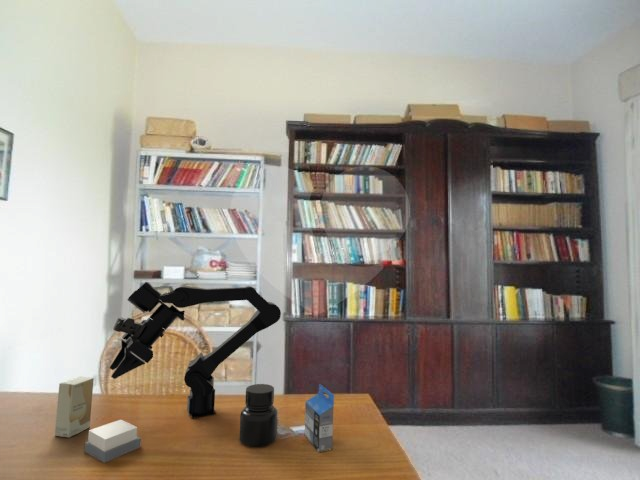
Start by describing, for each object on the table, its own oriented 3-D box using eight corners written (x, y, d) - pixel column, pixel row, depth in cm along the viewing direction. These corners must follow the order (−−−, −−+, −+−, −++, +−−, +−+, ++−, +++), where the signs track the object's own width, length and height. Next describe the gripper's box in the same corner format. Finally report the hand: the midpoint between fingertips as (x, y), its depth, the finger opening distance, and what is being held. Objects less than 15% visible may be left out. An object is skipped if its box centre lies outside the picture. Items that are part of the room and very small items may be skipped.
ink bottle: (284, 435, 90) (285, 385, 91) (267, 452, 81) (269, 397, 82) (249, 428, 93) (251, 380, 94) (230, 444, 85) (232, 391, 85)
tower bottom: (120, 439, 86) (121, 428, 86) (140, 449, 82) (141, 438, 82) (84, 454, 79) (85, 442, 80) (104, 465, 75) (104, 453, 75)
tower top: (120, 430, 86) (120, 419, 86) (136, 438, 82) (137, 427, 82) (88, 442, 80) (88, 430, 80) (104, 451, 76) (105, 439, 76)
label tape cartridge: (303, 435, 90) (305, 384, 91) (317, 433, 91) (319, 383, 92) (318, 452, 82) (319, 396, 83) (333, 449, 83) (335, 394, 84)
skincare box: (68, 438, 85) (72, 385, 86) (53, 436, 86) (57, 383, 87) (91, 426, 91) (94, 377, 92) (76, 424, 92) (80, 375, 93)
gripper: (130, 302, 104) (85, 347, 98) (137, 308, 89) (84, 363, 82) (160, 326, 108) (119, 371, 102) (172, 336, 93) (124, 390, 86)
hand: (111, 373), depth 93 cm, fingers open, 9 cm apart
